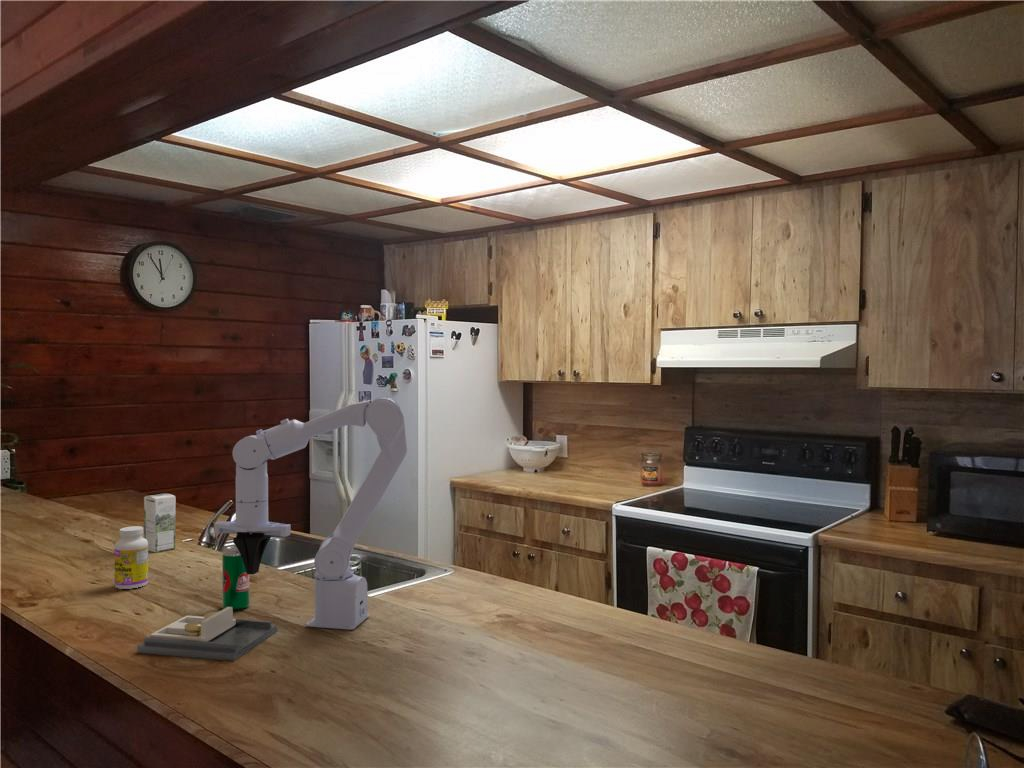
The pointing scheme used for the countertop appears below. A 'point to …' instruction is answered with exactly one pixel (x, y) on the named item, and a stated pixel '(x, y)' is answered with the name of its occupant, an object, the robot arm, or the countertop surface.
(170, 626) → the panel
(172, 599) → the countertop surface
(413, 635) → the countertop surface
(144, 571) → the supplement bottle
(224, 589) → the soda can
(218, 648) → the boss plate
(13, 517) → the countertop surface
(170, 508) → the syrup box
